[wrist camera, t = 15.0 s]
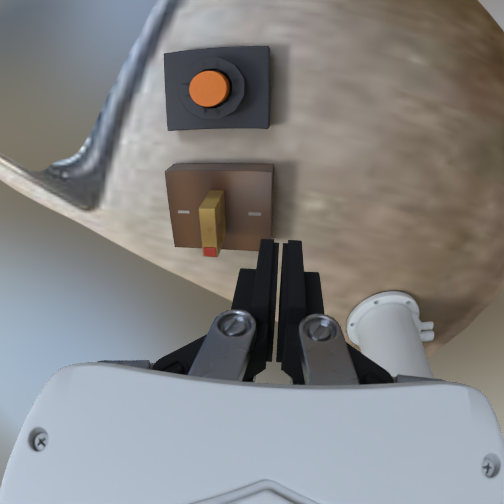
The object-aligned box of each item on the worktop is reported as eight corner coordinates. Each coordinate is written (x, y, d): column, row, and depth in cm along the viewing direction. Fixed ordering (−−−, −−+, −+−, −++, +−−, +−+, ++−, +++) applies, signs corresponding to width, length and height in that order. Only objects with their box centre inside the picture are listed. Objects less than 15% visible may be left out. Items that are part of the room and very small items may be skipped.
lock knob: (210, 189, 32) (197, 209, 28) (224, 190, 32) (214, 209, 28) (213, 233, 35) (202, 257, 31) (226, 233, 35) (217, 258, 31)
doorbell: (270, 48, 26) (268, 43, 22) (269, 125, 31) (267, 131, 27) (170, 54, 27) (157, 52, 23) (174, 127, 32) (161, 134, 28)
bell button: (229, 70, 25) (226, 69, 23) (230, 104, 26) (227, 106, 25) (193, 72, 25) (188, 72, 23) (194, 106, 27) (189, 107, 25)
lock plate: (273, 164, 33) (272, 172, 30) (271, 239, 38) (270, 252, 36) (173, 163, 34) (163, 171, 31) (181, 235, 39) (174, 247, 37)
